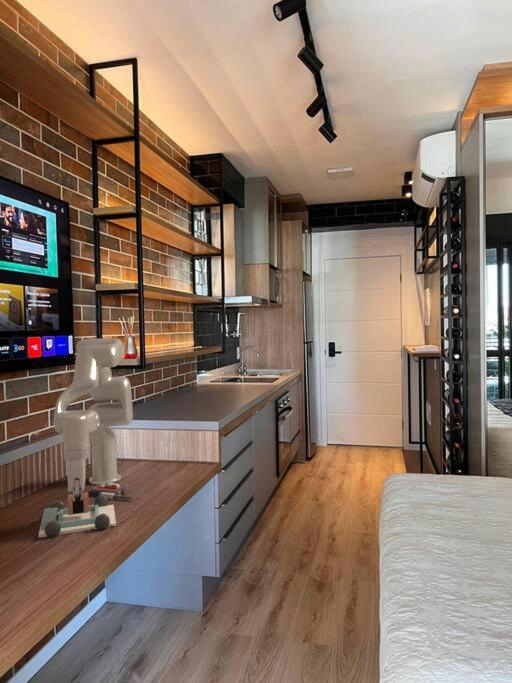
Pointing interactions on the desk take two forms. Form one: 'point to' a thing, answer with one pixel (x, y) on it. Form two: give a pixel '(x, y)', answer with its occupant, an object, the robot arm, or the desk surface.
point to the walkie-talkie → (109, 491)
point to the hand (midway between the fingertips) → (78, 509)
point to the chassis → (76, 518)
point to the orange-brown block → (85, 501)
